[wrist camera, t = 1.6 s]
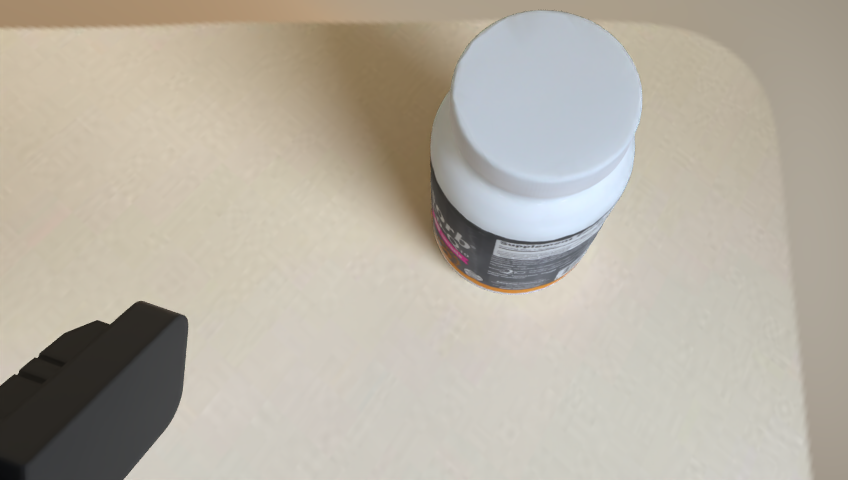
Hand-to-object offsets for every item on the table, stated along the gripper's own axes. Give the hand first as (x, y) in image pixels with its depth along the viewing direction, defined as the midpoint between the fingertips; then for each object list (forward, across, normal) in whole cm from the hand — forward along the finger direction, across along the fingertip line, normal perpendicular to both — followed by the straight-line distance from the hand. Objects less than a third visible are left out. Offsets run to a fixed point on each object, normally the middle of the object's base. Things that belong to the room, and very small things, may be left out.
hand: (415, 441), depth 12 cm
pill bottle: (+17, 0, +4) cm, 17 cm away
